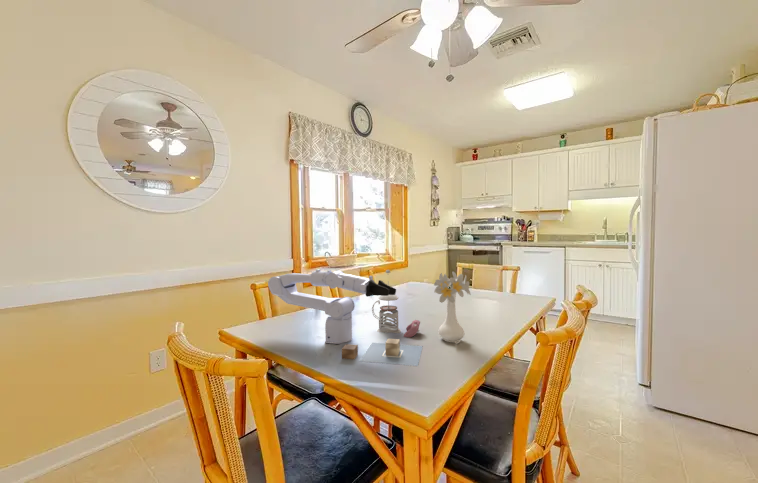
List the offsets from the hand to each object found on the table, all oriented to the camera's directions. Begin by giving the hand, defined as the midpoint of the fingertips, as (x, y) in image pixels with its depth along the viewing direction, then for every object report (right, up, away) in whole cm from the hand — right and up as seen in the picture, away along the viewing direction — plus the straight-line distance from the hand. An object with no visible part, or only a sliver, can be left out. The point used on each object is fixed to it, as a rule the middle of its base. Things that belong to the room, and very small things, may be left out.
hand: (392, 292), depth 108 cm
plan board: (0, -20, -6) cm, 21 cm away
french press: (-1, -19, +19) cm, 27 cm away
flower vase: (+22, -19, +5) cm, 30 cm away
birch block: (0, -19, -6) cm, 20 cm away
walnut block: (-14, -20, -8) cm, 26 cm away
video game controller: (+8, -19, +13) cm, 25 cm away
